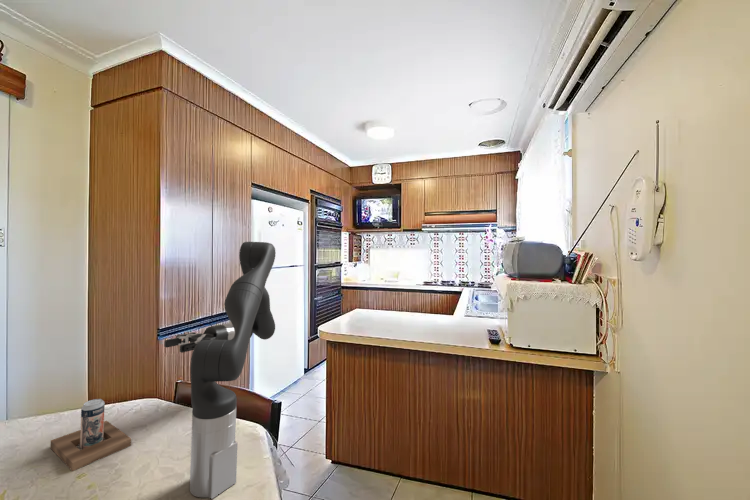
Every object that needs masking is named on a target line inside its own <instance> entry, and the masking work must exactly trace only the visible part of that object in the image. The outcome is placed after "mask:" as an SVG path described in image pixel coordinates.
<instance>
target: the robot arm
mask: <svg viewBox="0 0 750 500" xmlns="http://www.w3.org/2000/svg"><path fill="white" fill-rule="evenodd" d="M238 254H239V257H238V258H239V265H240V268H241V272H242V275H241V276H239V277H238V278H237V279H235V281H234V282H233V283H232V284H231V286H230V287H229V290H228V292H227V294H226V297H225V298H224V299H225V300H224V311H225V313H226V315H227V317H228V319H229V321H230V322H229V323H223V324H216V325H212V326H209V327H207V328H206V329H205V330H204V332H194V331H193V332H189V333H183V334H177V335H175V338H170V339H165V340H164V345H163V347H164V348H167V349H168V348H172V347H177V346H179V353H186V352H190V351H192V352H191V353H192V354H191V357H190V401H191V403H190V404H191V409H192V412H191V413H192V415H191V436H190V438H191V439H190V440H191V443H190V470H189V475H190V476H189V491H190V493H191V495H192V496H194V497H196V498H208V499H210V498H211V500H212V499H215V498H216V497H217V496H219V495H220V494H222V493H223V492H224V491H226V490H228V489H229V488H230V487H232V486H233V485H235V484H236V483H237V475H238V474H237V468H238V467H237V466H238V442H237V441H236V427H237V405H238V404H237V403H238V401H237V400H238V399H237V395H236V393H235V392H234V391H233V390H231V389H229V388H227V387H224V386H222V385H220V384H219V383H217V382H234V381H236V380H237V379H239V377H240V375H241V373H242V372H243V369H244V366H245V362H246V358H247V355H248V349H249V343H250V339H251V338H252V336H253V334H254V335H255V336H256V337H258V338H259V339H261V340H265V341H266V340H269V339H271V338H272V337H273V335H275V331H276V322H275V319H274V316H273V313H272V311H271V301H270V300H271V299H270V295H269V291H268V290H267V289H266V284H267V280H268V278H269V275H270V274H271V273H270V272H271V270H272V269H273V266H274V263H275V260H276V248H275V246H274V244H272V243H271V242H267V241H266V242H265V241H263V242H262V241H245V242H242V244H241V246H240V248H239V253H238ZM218 494H219V495H218Z"/></svg>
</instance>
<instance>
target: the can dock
mask: <svg viewBox="0 0 750 500" xmlns="http://www.w3.org/2000/svg"><path fill="white" fill-rule="evenodd" d="M80 433H81V429H79V430H75V431H73V432H71V433H68V434H65V435H64V434H63V436H62V435H61V436H60V437H56V438H52V439H50V447H49V448H50V449H51V450H52V452H53V453H55V455H57V457H58V458H59V459H60V460H61V461H62V462H63V463H64V464H65V465H66V466H67V468H69V469H70V470H71V471H72V472H74V471H77V470H79V469H80V468H81V469H82V468H84V467H85V466H88V465H90V464H92V463H93V464H94V462H97V461H99V460H102V459H104V458H106V457H108V456H110V455H113V454H115V453H117V452H120V451H123V450H124V449H126V448H128V447H131V446H132V437H130V436H128V435H127V434H126V433H124V432H123V431H122V430H120V429H119V428H117V427H116V426H115V425H114V424H112V423H111V422H109V421H108V420H104V435H103V441H102V442H99V443H97V444H94V445H92V446H89V447H87V448H84V449H82V450H81V449H80V448H78V447H80Z"/></svg>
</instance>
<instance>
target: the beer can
mask: <svg viewBox="0 0 750 500" xmlns="http://www.w3.org/2000/svg"><path fill="white" fill-rule="evenodd" d="M105 404H106V403H105V401H104V400H103V399H102V398H94V399H90V400H87V401H86V402H84V403H83V405H82V406H81V409H80V411H81V413H80V430H81V433H80V445H79V450H82V449H84V448H87V447H89V446H92V445H94V444H97V443H99V442H102V441H104V438H103V435H104V421H105Z"/></svg>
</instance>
